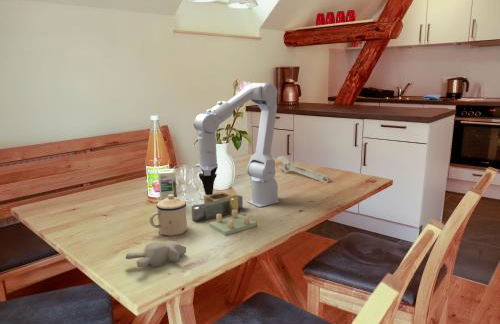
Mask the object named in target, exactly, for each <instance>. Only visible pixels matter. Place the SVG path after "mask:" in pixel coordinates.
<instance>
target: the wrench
mask: <svg viewBox="0 0 500 324" xmlns="http://www.w3.org/2000/svg"><path fill="white" fill-rule="evenodd" d="M276 161H281V163H282V165H280V166H278V170H280V171H282V172H284V174H286V175H287V174H289V173H290V172H292V171H293V172H295V173H298V174H300V175H303V176H305V177H309V178H311V179H313V180H316V181H319V182H321V183H326V184H327V183H329V182H330V181H331V178H330V176H329V175H327V174H323V173H321V172H318V171H314V170H311V169H309V168H306V167H302V166H300V165H297V164H295V163H294V162H293V161H291V159H289V158H288V157H287V156H286V155H280V156H277V158H276ZM326 178H327V180H326Z"/></svg>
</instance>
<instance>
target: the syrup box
mask: <svg viewBox="0 0 500 324" xmlns="http://www.w3.org/2000/svg"><path fill="white" fill-rule="evenodd" d="M157 175H158V189H159V190H158V191H159V199H160V200H159V201H161V200H164V199H165V198H168V195H170V194H173V195H174V197H176V198H178V193H177V184H176V183H177V182H176V171H175V169H174V168H168V169H167V168H166V169H165V168H164V169H157Z"/></svg>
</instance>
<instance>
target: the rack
mask: <svg viewBox="0 0 500 324" xmlns="http://www.w3.org/2000/svg"><path fill="white" fill-rule="evenodd" d="M215 218H216V220H215V221H211V222H209V228H211V229H213V230H215V231H217V232H218V233H220V234H222V235H224V236H229V235H231V234H234V233H238V232H242V231H245V230H247V229H251V228H255V227H257V223H258V222H257V221H255V220H253V219H250V215H248V214H246V215H243V214H238V215H237V210H232V216H229V217H225V218H223V215H222V214H216V217H215Z"/></svg>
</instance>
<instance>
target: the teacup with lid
mask: <svg viewBox="0 0 500 324" xmlns="http://www.w3.org/2000/svg"><path fill="white" fill-rule="evenodd" d="M155 208H157V209H156V210H157V211H156V212H153V213H152V214H151V215H150V216H149V223H150V225H151V226H152V227H153V228H156V229H158V231H159V233H160V234H161V235H163V236H178V235H181V234H184V233H185V232H186V231H187V229H188V225H187V224H188V222H187V202H186V200H184V199H182V198H179V197H177V198H176V197H174V195H173V194H170V195H168V198H165V199H164V200H161V201H160V200H159V201H158V202H157V204H156V207H155ZM156 216H157V220H158V222H157V223H158V224H155V223H154V218H155V217H156Z"/></svg>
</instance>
